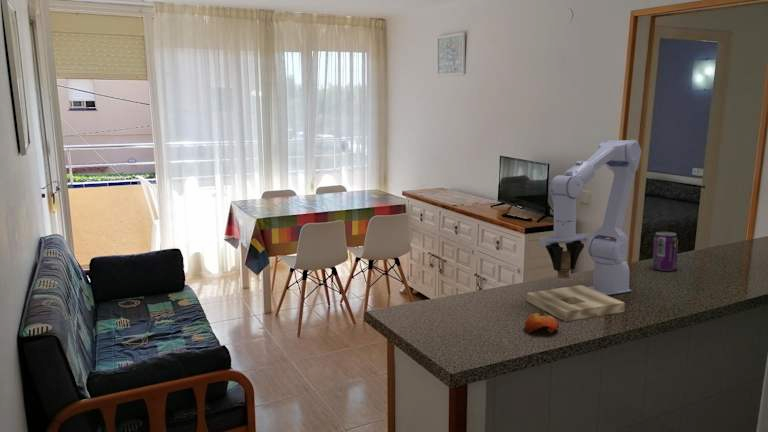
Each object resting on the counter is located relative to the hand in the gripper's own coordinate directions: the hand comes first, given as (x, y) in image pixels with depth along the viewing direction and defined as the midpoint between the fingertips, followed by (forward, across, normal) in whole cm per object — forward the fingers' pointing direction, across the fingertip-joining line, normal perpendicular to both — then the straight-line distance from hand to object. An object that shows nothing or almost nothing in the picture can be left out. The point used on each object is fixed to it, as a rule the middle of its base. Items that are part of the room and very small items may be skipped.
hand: (564, 269), depth 156 cm
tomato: (+10, +16, +15) cm, 24 cm away
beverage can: (+10, -51, -18) cm, 55 cm away
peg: (+2, 0, 0) cm, 2 cm away
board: (+10, -2, +2) cm, 10 cm away
